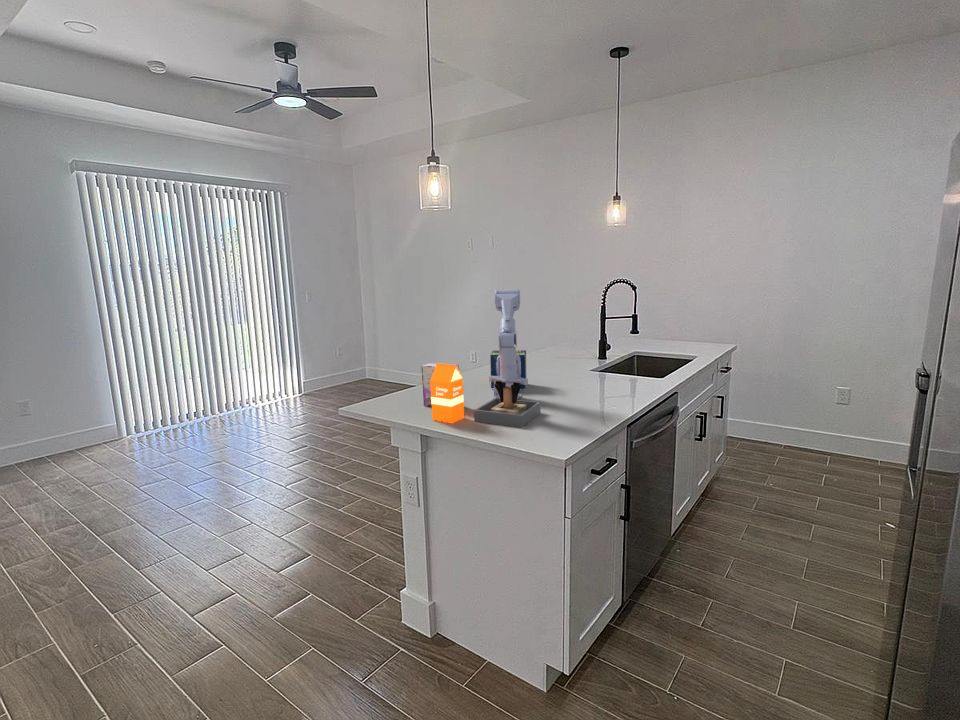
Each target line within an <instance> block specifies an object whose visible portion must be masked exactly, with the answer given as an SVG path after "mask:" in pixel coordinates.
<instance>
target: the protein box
mask: <svg viewBox="0 0 960 720" xmlns="http://www.w3.org/2000/svg"><path fill="white" fill-rule="evenodd" d="M516 354H517V355H519V356H520V361H521V375H520V376H518V377H520V378H526V379H528V378H527V350H523V349H522V350H517V349H516ZM489 355H490V358H489V360H490V376H498V375H497V357H498V356H499V355H500V354H499V350H492V351H491V352H490V354H489ZM499 376H500V373H499ZM491 388H494V382H490V389H491ZM524 388H525V389H526V388H527V385H523V384H522V387H521V389H520V390H525V389H524Z"/></svg>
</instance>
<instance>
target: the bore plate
mask: <svg viewBox="0 0 960 720" xmlns="http://www.w3.org/2000/svg"><path fill="white" fill-rule="evenodd" d="M526 410H527V405H525V404H516V403H515V404H514V409H513V410H512V409H503V402H501V403H499V404H498V405H496V406H495V407H493V408H491V409H490V411H492V412H501V413H509V414H518V415H520V414H522V413H523V412H524V411H526Z"/></svg>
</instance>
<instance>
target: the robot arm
mask: <svg viewBox="0 0 960 720" xmlns="http://www.w3.org/2000/svg"><path fill="white" fill-rule="evenodd" d="M494 304H495V309H496V311H499V312H500V313H501V315H502V318H501V319H500V320H499V334H498V335H497V336H498V337H497V341H498V342H497V343H498V351H499V354H500V355H499V356H498V357H497V375H498V376H491V375H490V376H489V377H488V382H490V383H491V382H494V389H493V399H494V398H500V400H501V402H503V387H506V386H511V389H512V403H513V404H515V403H516V402H517V400H519V398H521V397H522V395H523V394H519V393H520V390H522V389H521V387H522V384H523V385H526V386H527V385H529V379H528V378H527V379H526V378H520V377H518V376H520V375H521V361H520V356H519V355H517V354H516V351H517V347H518V343H517V342H518V340H517V338H518V336H517V334H518V333H517V330H516V320H515V319H514V315H515V312H516V311H519V310H520V307H521V291H520V289H519V288H518V289H495V290H494ZM499 373H500V376H499Z"/></svg>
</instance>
